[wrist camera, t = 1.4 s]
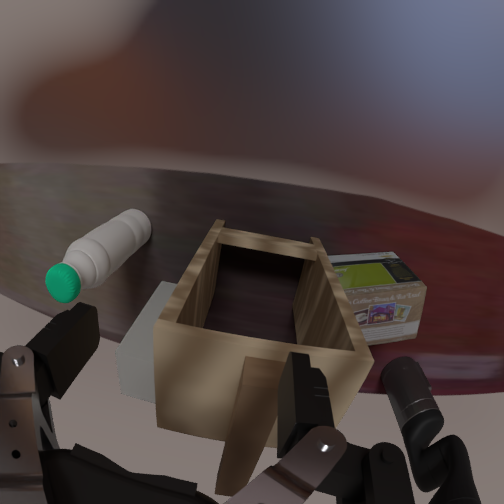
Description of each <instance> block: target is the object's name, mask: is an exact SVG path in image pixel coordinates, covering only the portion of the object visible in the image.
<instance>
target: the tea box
mask: <svg viewBox="0 0 504 504" xmlns="http://www.w3.org/2000/svg"><path fill="white" fill-rule="evenodd" d="M328 258H329V260H330V262H331V264H332V267H333V269H334V271H335V273H336V275H337V277H338V279H339V281H340V284H341V286H342V288H343V290H344V292H345V294H346V297H347V299H348V301H349V303H350V306H351V308H352V310H353V312H354V315H355V317H356V319H357V321H358V324H359V326H360V328H361V331H362V333H363V335H364V338H365V340H366V343H367V345H375V344H382V343H389V342H396V341H401V340H406V339H413V338H416V335H417V331H418V327H419V323H420V318H421V314H422V309H423V304H424V299H425V294H426V289H427V287H426V286H425V285H424V284H423V283H422V281H421V280H420V279H419V278H418V277H417V276H416V275H415V274H414V273H413V272H412V271H411V270H410V269H409V268H408V267H407V266H406V264H405V263H404V262H403V261H402V260H401V259H399V257H398V256H397V255H396V254H395V253H394V252H383V253H367V254H351V255H335V256H328Z"/></svg>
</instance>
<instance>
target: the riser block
mask: <svg viewBox="0 0 504 504" xmlns="http://www.w3.org/2000/svg"><path fill="white" fill-rule="evenodd" d="M176 286H177V284H174V283H169V282H164V281H162V282H161V283H160V285H159V286H158V287H157V289H156V290H155V292H154V293H153V295H152V296H151V298H150V299H149V301H148V302H147V304H146V305H145V307H144V308H143V310H142V311H141V313H140V314H139V316H138V317H137V319H136V320H135V322H134V323H133V325H132V326H131V328H130V329H129V331H128V332H127V334H126V335H125V337H124V338H123V340H122V342H121V343H120V345H119V346H118V348H117V350H116V351H115V355H116V362H117V370H118V376H119V383H120V390H121V394H124V395H127V396H130V397H134V398H137V399H141V400H144V401H148V402H151V403H155V404H156V402H155V384H154V353H153V326H154V325H155V323H156V321H157V319H158V317H159V316H160V314H161V312H162V310H163V309H164V307H165V305H166V303H167V302H168V300H169V298H170V296H171V295H172V293H173V291H174V289H175V288H176Z"/></svg>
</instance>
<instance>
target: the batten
mask: <svg viewBox="0 0 504 504" xmlns="http://www.w3.org/2000/svg"><path fill="white" fill-rule="evenodd" d="M285 363H286V362H282V361H275V360H268V359H262V358H255V357H249V356H245V360H244V364H243V369H242V373H241V377H240V382H239V386H238V390H237V395H236V399H235V403H234V408H233V412H232V416H231V420H230V425H229V429H228V433H227V437H226V441H225V446H224V450H223V454H222V458H221V462H220V466H219V471H218V474H217V482H216V488H215V494H217V495H224V496H231V497H233V496H234V495H235V494H237V493H238V492H239V491H240V490H242V489H243V488H244V487H245V486H246V485H247V483H248V481H249V479H250V477H251V475H252V473H253V471H254V468H255V466H256V464H257V462H258V460H259V457H260V455H261V453H262V451H263V449H264V446H265V444H266V442H267V439H268V437H269V435H270V432H271V430H272V428H273V425H274V423H275V420H276V418H277V416H278V385H279V381H280V377H281V375H282V372H283V369H284V366H285Z"/></svg>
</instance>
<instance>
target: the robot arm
mask: <svg viewBox="0 0 504 504" xmlns="http://www.w3.org/2000/svg"><path fill="white" fill-rule="evenodd" d="M99 340H100V334H99V324H98V314H97V309H96V307H94V306H91V305H88V304H85V303H82V302H79V303H77V304H76V305H75V306H74V307H73V308H72V309H71V310H70V311H69V310H66V311H64V312H62V313H59V314H57V315H56V316H55V317H54V318H53V319H52V320H51V321H50V323H48V324H47V325H46V326H45V328H43V329H42V330H41V331H40V332H39V333H38V334H37V335H36V336H35V337H34V338H33V339H32V340H31V341H30V342H29V343H28V344H27V345H26V346H21V345H17V346H13V347H10V348H9V349H7V350H6V351H5V352H4V353H2V352H0V504H219V503H217V502H216V501H215V500H213V499H212V498H210V497H209V496H207V495H205V494H203V493H201V492H199V491H197V490H196V489H197V483H193V482H189V481H184V480H180V479H176V478H172V477H169V476H165V475H151V474H140V473H132V472H129V471H127V470H125V469H124V468H122V467H121V466H119V465H117V464H116V463H114V462H113V461H111V460H110V459H108V458H107V457H105V456H104V455H102V454H100V453H97V452H95V451H92V450H90V449H87V448H85V447H83V446H81V445H79V444H77V443H76V444H75V446H74V447H73V449H72V450H70V449H60V448H59V445H58V442H57V439H56V434H55V429H54V423H53V418H52V411H51V404H50V401H49V397H50V396H51V395H52V396H54V397H56V398H58V399H61V398H62V396H63V395H64V394H65V392H66V391H67V389H68V388H69V386H70V385H71V384H72V382H73V381H74V379H75V378H76V377H77V375H78V374H79V372H80V371H81V370H82V368H83V367H84V366H85V364H86V363H87V361H88V360H89V359H90V357H91V356H92V355H93V353H94V352H95V351H96V349H97V347H98V345H99ZM381 379H382V382H383V384H384V387H385V390H386V392H387V395H388V397H389V400H390V403H391V405H392V408H393V411H394V414H395V416H396V419H397V422H398V425H399V428H400V430H401V433H402V436H403V439H404V443H405V447H406V450H407V453H408V457H409V461H410V466H411V470H412V474H413V477H414V480H415V483H416V484H417V486H418V488H419V489H420V490H421V491H423V492H430V491H432V490H434V489H436V488H438V487H440V488H439V489H438V491H437V492H436V493H435V495H434V496H433V498H432V499H431V501H430V502H429V504H481V501H480V498H479V495H478V492H477V489H476V487H475V484H474V480H473V476H472V470H471V466H470V460H469V456H468V452H467V449H466V447H465V445H464V443H463V441H462V440H461V439H460V438H459V437H458V436H456V435H449V436H446V437H444V438H442V439H441V440H439V441H437V442H436V443H434V444H432V445H431V446H429V444H430V443H431V441H432V440H433V439H434V437H435V436H436V435H437V434H438V433H439V432H440V430H441V429H442V427H443V425H444V418H443V416H442V414H441V412H440V410H439V408H438V406H437V404H436V402H435V400H434V398H433V396H432V394H431V392H430V391H431V389H432V387H431V385H430V383H429V381H428V380H427V378H426V376H425V374H424V372H423V370H422V368H421V367H420V365H419V363H418V362H415V361H414V360H413V359H412V358H410V357H400V358H397V359H395V360H393V361H392V362H390V363H389V364H388V365H387V366H386V367H385V368H384V369H383V371H382V374H381ZM428 446H429V447H428ZM277 458H282V459H281V460H280V461H279V462H278V463H277V464H275V465H274V466H270V467H268V468H267V469H265V470H264V471H263V472H262V473H261V474H260V475H258V476H257V477H256V478H255V479H254V480H252V481H251V482H250V483H249V484H248V485H246V486H245V487H244V488H243V489H242V490H240V491H239V492H238V493H237V494H235V495H234V496H233V497H232V498H230V499H229V500H228V501H226V502H225V503H224V504H303V503H304V502H305V501H306V499H308V497H309V496H310V495H311V494H312V492H313V491H314V490H316V491H319V492H322V493H326V494H329V495H333V496H336V501H337V502H336V503H337V504H415V501H414V496H413V491H412V487H411V482H410V478H409V473H408V468H407V464H406V460H405V456H404V454H403V452H402V451H401V449H400V448H399V447H397V446H396V445H394V444H391V443H387V442H381V443H378V444H376V445H374V446H373V447H372V448H371V449H367V448H364V447H360V446H356V445H353V444H350V443H348V442H347V441H346V438H345V437H344V435H343V434H342V433H341V432H340V431H339V430H337V429H335V425H334V419H333V413H332V408H331V402H330V398H329V391H328V385H327V380H326V377H325V375H324V374H323V373H322V371H321V370H320V368H314V367H311V363H310V356H309V354H305V353H298V352H291V351H290V352H289V354H288V357H287V360H286V363H285V366H284V369H283V372H282V375H281V377H280V381H279V385H278V416H277Z"/></svg>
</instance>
